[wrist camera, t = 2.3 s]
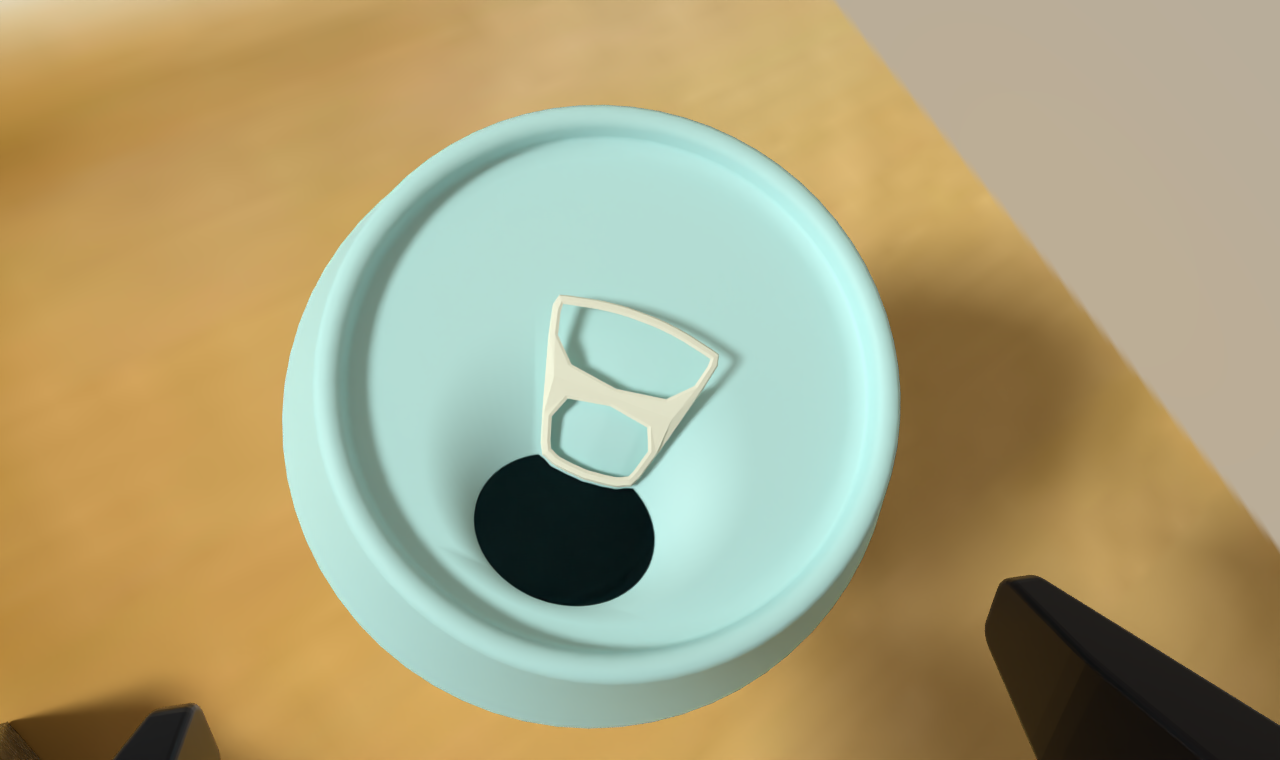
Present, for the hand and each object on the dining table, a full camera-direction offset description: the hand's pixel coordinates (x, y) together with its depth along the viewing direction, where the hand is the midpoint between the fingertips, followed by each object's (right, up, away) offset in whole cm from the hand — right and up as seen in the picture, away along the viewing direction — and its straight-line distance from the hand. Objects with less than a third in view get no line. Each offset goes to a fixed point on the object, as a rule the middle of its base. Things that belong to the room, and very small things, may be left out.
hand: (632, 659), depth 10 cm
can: (-2, +1, +10) cm, 11 cm away
